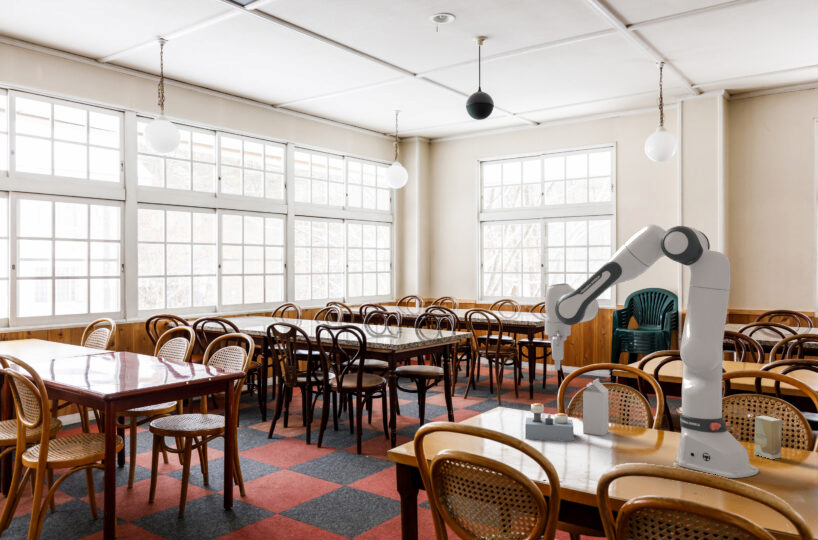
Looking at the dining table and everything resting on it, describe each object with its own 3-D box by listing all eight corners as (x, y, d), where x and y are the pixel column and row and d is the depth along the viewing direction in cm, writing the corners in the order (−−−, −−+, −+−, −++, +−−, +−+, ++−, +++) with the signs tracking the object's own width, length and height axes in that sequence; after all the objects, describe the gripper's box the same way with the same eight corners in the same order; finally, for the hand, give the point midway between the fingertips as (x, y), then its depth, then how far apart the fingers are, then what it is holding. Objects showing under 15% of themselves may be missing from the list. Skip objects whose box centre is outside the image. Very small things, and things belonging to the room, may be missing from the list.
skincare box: (753, 455, 199) (753, 416, 199) (763, 453, 200) (763, 414, 200) (772, 460, 193) (772, 420, 193) (782, 459, 195) (782, 419, 195)
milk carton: (608, 431, 227) (608, 379, 227) (603, 436, 221) (603, 382, 221) (588, 429, 231) (588, 377, 231) (582, 433, 225) (582, 380, 225)
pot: (552, 423, 219) (552, 413, 219) (553, 425, 217) (553, 415, 217) (545, 422, 220) (545, 413, 220) (545, 424, 217) (545, 414, 217)
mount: (572, 433, 225) (572, 419, 225) (573, 441, 215) (573, 426, 215) (526, 431, 228) (526, 417, 228) (525, 438, 218) (525, 424, 218)
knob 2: (567, 434, 222) (567, 413, 222) (567, 438, 218) (567, 415, 218) (554, 434, 223) (554, 412, 223) (554, 437, 219) (554, 415, 219)
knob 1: (543, 424, 224) (543, 403, 224) (543, 427, 220) (543, 405, 220) (531, 424, 225) (531, 402, 225) (530, 427, 221) (530, 405, 221)
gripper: (567, 333, 210) (567, 374, 210) (566, 327, 230) (565, 365, 230) (548, 332, 211) (548, 373, 212) (548, 327, 231) (548, 364, 231)
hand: (557, 369), depth 221 cm, fingers closed
